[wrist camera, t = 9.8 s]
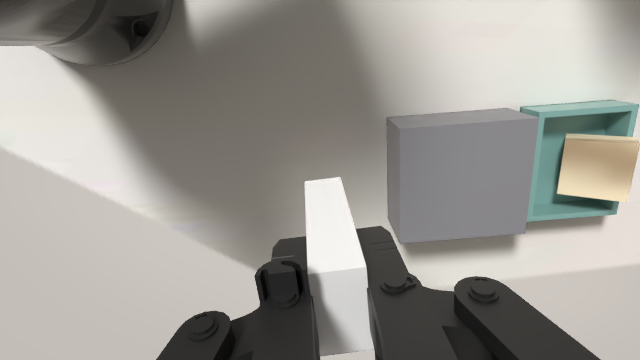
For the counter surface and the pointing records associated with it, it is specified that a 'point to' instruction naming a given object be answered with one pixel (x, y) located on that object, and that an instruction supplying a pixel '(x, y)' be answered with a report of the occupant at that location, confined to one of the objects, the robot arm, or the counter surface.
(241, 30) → the counter surface
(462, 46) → the counter surface
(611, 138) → the tile
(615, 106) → the box
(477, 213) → the gray rectangular block
